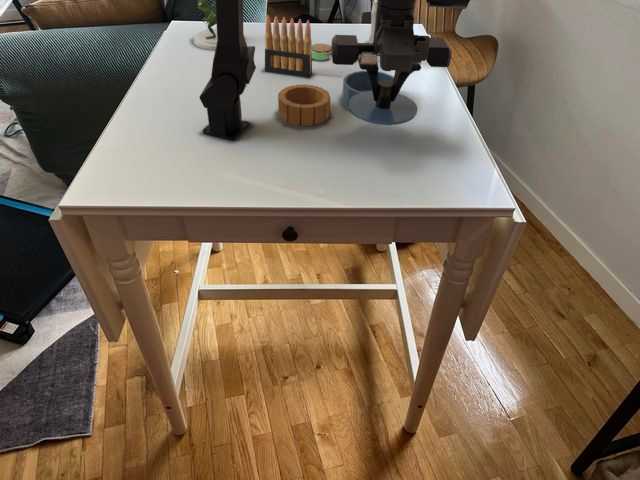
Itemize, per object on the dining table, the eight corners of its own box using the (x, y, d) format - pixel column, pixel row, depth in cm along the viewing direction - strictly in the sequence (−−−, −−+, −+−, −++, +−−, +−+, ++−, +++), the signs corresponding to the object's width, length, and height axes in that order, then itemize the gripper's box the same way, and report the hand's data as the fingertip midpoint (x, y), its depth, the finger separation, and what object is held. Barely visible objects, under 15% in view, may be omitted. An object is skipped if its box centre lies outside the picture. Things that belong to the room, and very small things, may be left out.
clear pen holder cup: (362, 47, 123) (369, -18, 113) (370, 38, 128) (377, -25, 117) (389, 52, 121) (398, -14, 111) (396, 42, 126) (405, -21, 116)
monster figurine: (192, 33, 126) (186, -10, 119) (238, 31, 128) (235, -12, 121) (195, 51, 117) (188, 5, 110) (244, 48, 119) (241, 3, 113)
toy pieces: (362, 50, 121) (364, 32, 118) (346, 66, 113) (347, 47, 110) (319, 42, 124) (319, 24, 121) (300, 57, 117) (300, 38, 114)
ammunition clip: (312, 74, 109) (313, 19, 101) (310, 77, 108) (311, 21, 100) (267, 68, 111) (265, 13, 103) (264, 71, 110) (262, 15, 102)
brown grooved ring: (318, 132, 90) (318, 111, 88) (270, 121, 93) (269, 101, 90) (335, 110, 97) (337, 90, 94) (291, 100, 100) (291, 80, 97)
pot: (388, 120, 95) (391, 99, 92) (334, 108, 98) (335, 87, 95) (402, 96, 103) (405, 76, 100) (352, 86, 105) (353, 66, 103)
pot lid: (407, 134, 79) (412, 105, 76) (338, 119, 82) (340, 90, 79) (423, 103, 88) (428, 76, 84) (360, 91, 91) (362, 64, 87)
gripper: (337, 20, 67) (331, 122, 77) (470, 24, 68) (447, 124, 78) (333, -4, 75) (328, 91, 86) (452, -1, 76) (433, 93, 86)
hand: (383, 100), depth 84 cm, fingers closed on pot lid, 3 cm apart
